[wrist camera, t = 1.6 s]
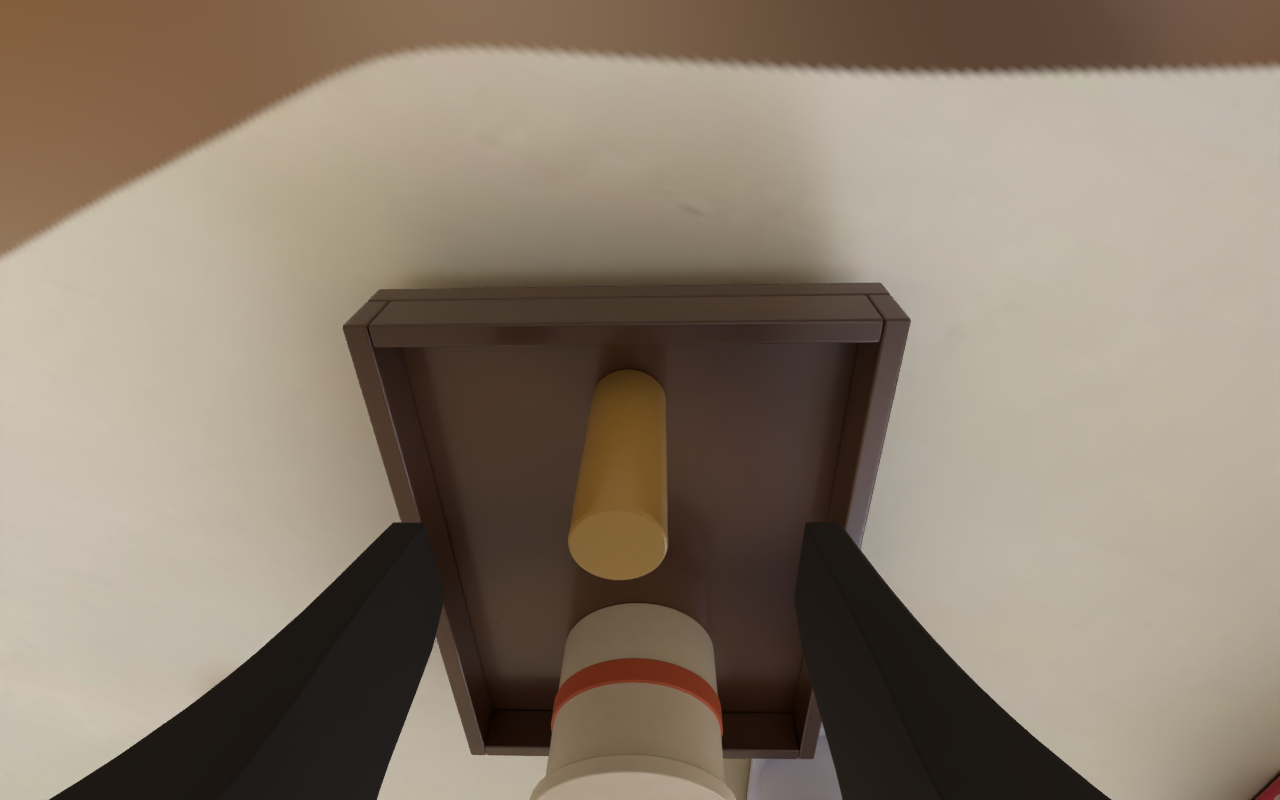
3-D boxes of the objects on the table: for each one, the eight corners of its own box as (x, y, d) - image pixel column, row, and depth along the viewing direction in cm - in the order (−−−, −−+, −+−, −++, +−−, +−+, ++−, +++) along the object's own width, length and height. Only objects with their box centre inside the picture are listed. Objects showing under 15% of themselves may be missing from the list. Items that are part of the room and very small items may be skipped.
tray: (802, 702, 25) (840, 887, 20) (485, 699, 26) (439, 878, 20) (881, 281, 16) (993, 418, 11) (378, 288, 16) (242, 422, 11)
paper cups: (719, 703, 24) (734, 879, 19) (563, 701, 24) (539, 876, 20) (727, 595, 21) (748, 774, 16) (546, 594, 21) (513, 770, 16)
